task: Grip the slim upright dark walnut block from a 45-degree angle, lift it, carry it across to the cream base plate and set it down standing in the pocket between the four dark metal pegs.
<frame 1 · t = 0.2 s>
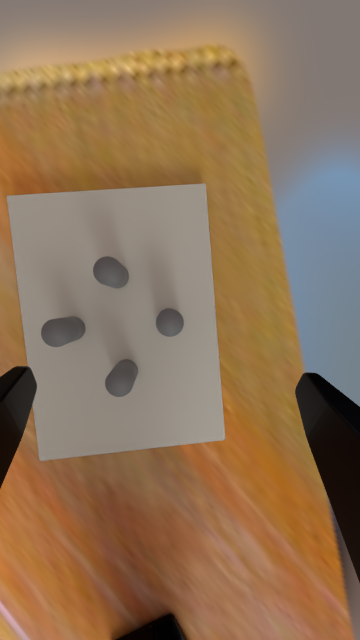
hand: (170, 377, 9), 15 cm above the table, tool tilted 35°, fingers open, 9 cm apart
peg plate: (123, 323, 23), on the table
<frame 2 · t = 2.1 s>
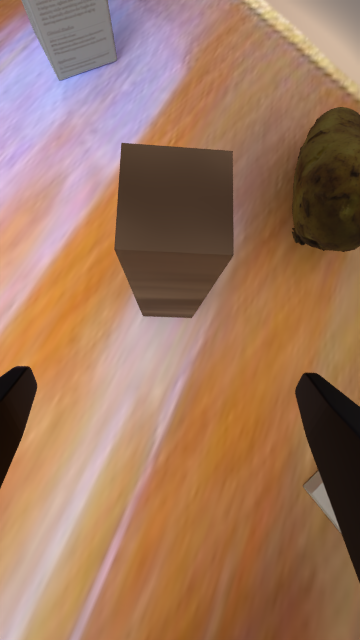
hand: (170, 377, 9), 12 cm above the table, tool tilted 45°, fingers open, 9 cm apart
potato: (311, 207, 24), on the table
product box: (77, 50, 25), on the table
walnut block: (168, 293, 22), on the table
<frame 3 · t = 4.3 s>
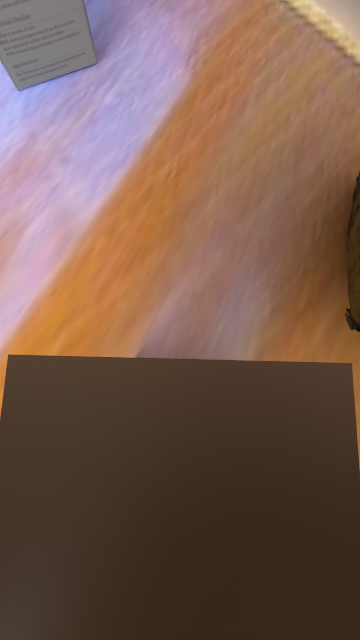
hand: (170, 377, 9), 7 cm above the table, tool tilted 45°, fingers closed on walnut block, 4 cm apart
product box: (43, 49, 19), on the table
walnut block: (166, 393, 16), on the table, touching gripper
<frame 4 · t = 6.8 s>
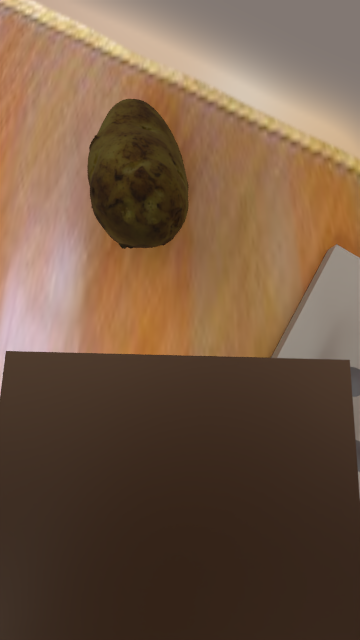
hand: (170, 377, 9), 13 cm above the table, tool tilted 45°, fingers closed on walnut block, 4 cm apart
potato: (146, 202, 24), on the table
peg plate: (354, 400, 23), on the table
walnut block: (166, 393, 16), point 6 cm above the table, touching gripper
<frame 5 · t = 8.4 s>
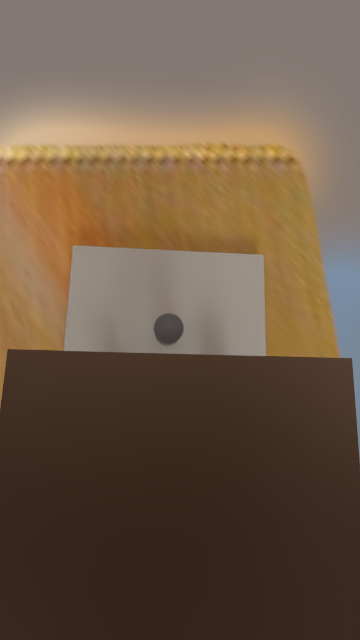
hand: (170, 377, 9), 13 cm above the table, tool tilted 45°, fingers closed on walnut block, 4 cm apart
peg plate: (165, 382, 22), on the table
walnut block: (166, 392, 16), point 6 cm above the table, touching gripper
when the fingers open (9 cm above the table, at t = 9.5 s): walnut block stays where it is, resting on peg plate.
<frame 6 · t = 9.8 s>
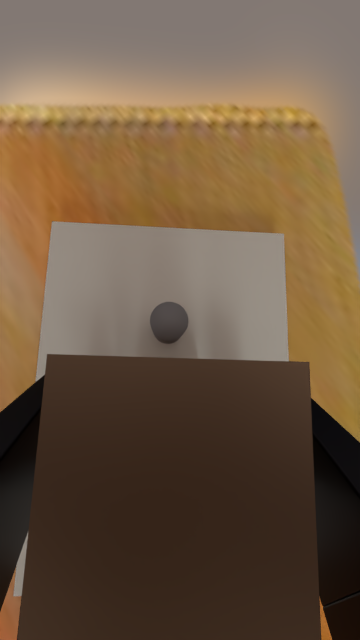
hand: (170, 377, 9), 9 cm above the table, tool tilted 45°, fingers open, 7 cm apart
peg plate: (165, 389, 18), on the table
walnut block: (166, 391, 17), point 1 cm above the table, touching peg plate
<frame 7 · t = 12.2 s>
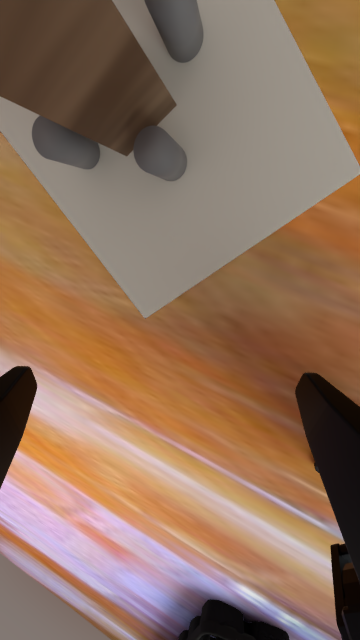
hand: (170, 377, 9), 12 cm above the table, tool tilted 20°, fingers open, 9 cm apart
peg plate: (137, 107, 16), on the table
walnut block: (129, 100, 15), point 1 cm above the table, touching peg plate
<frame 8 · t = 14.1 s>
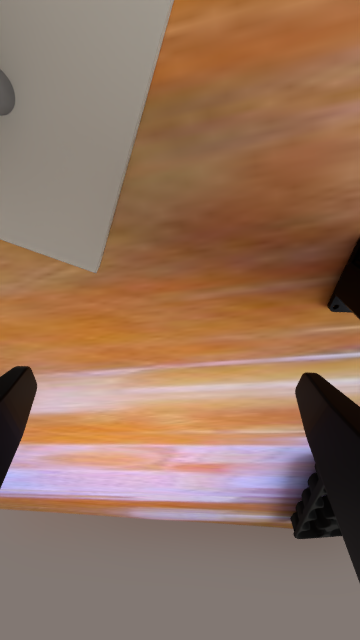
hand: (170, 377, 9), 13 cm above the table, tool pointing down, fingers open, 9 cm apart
egg carton: (332, 486, 48), on the table
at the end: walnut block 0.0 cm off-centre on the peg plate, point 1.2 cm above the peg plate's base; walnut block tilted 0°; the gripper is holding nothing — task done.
